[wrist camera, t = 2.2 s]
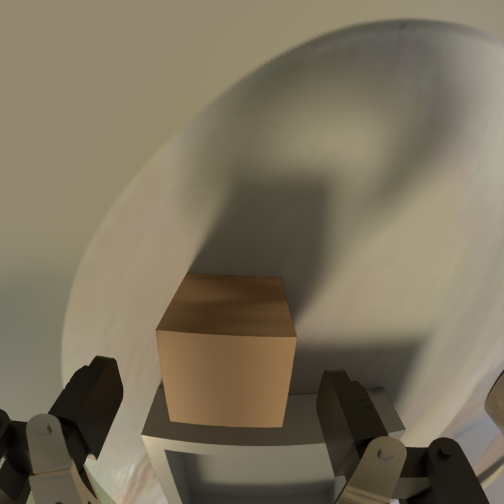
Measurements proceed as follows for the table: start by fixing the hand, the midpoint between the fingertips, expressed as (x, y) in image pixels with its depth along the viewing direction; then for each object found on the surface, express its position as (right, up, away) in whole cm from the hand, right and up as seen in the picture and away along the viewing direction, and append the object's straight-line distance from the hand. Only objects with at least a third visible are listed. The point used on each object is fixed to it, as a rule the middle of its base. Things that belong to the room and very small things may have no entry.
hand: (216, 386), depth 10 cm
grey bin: (+3, -12, +10) cm, 16 cm away
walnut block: (0, +1, +6) cm, 6 cm away
